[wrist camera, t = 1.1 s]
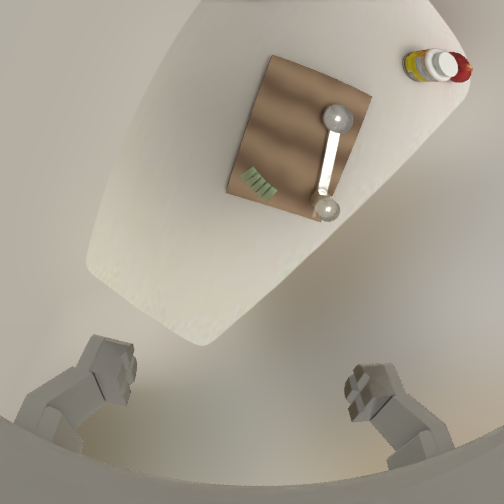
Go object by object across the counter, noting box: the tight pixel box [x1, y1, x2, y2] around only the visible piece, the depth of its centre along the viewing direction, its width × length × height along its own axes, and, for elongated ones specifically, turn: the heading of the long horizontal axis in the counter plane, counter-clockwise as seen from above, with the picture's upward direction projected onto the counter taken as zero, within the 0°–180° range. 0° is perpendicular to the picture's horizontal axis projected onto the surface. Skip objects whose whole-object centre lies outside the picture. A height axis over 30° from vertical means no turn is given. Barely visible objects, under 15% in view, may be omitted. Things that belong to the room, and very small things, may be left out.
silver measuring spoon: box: [311, 104, 353, 222], centre depth 38 cm, size 17×4×6 cm, turn 172°
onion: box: [449, 52, 473, 83], centre depth 30 cm, size 6×6×8 cm
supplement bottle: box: [403, 48, 458, 82], centre depth 30 cm, size 6×6×10 cm
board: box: [226, 55, 372, 222], centre depth 41 cm, size 23×16×2 cm
